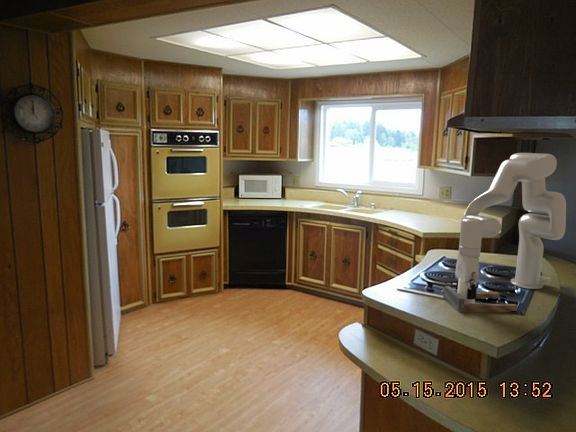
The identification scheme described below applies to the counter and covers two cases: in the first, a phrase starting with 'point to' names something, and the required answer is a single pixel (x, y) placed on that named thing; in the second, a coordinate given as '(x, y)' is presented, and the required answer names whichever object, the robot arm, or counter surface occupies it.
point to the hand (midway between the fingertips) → (465, 294)
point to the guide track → (459, 305)
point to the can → (464, 291)
